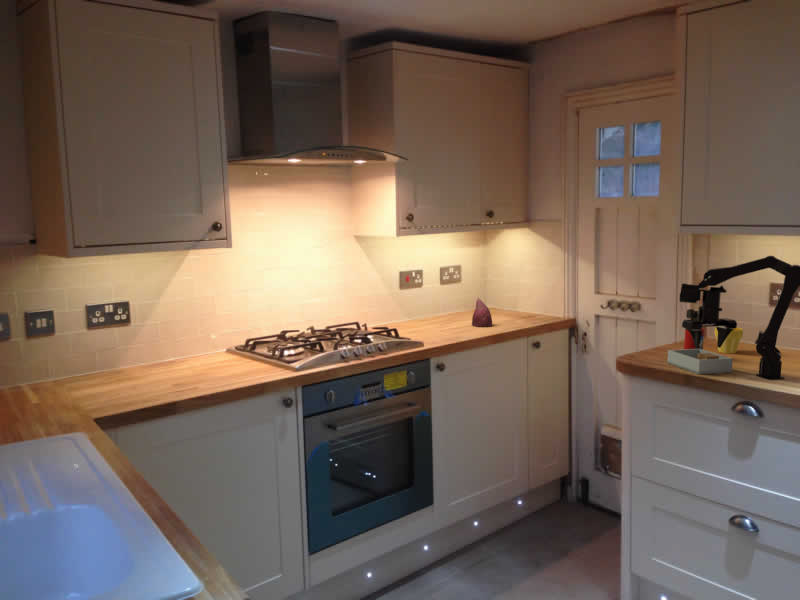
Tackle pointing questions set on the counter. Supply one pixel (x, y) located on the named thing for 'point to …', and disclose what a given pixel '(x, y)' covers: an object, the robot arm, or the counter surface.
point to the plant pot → (730, 340)
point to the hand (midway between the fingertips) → (707, 347)
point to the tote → (699, 361)
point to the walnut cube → (707, 356)
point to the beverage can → (689, 341)
